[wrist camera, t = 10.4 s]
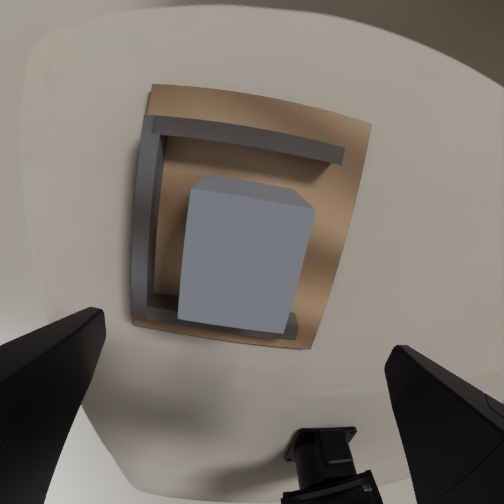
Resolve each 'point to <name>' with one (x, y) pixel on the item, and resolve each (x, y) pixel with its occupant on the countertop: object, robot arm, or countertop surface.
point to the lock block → (242, 253)
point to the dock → (246, 168)
